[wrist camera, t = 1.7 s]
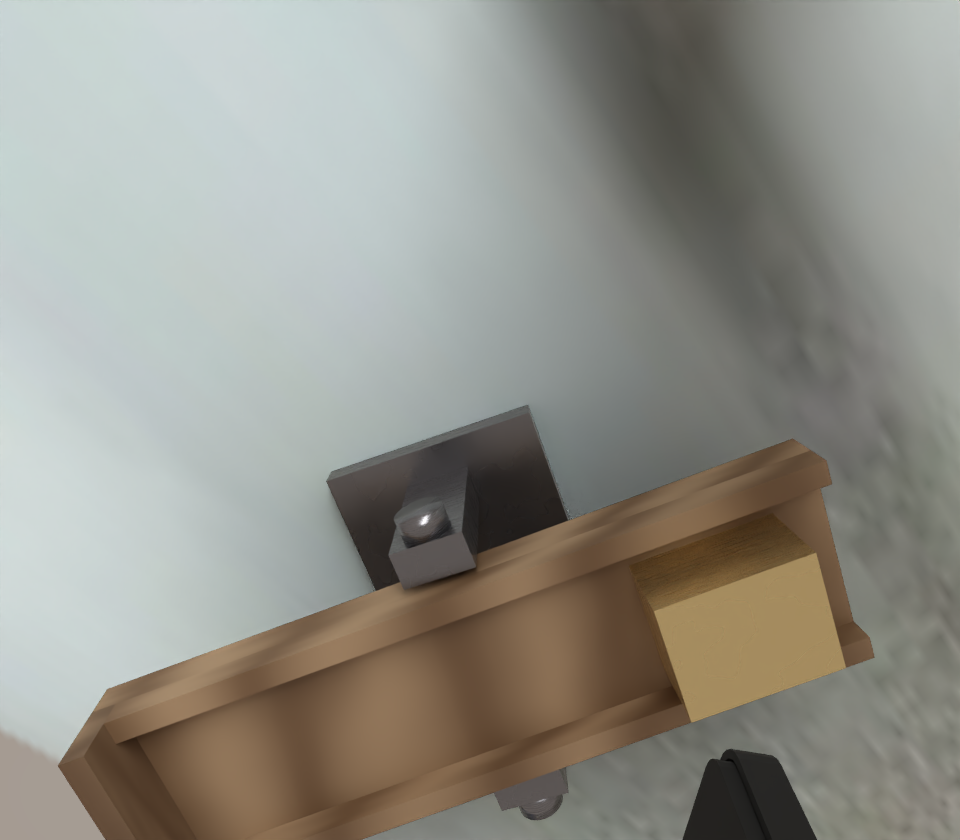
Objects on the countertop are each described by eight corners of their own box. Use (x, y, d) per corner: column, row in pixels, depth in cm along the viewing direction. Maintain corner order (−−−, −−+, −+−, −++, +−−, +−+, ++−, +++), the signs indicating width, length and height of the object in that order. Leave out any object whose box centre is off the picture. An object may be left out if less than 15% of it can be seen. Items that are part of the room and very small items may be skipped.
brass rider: (772, 513, 30) (816, 552, 27) (801, 618, 32) (846, 668, 28) (628, 565, 30) (653, 611, 27) (663, 667, 32) (691, 722, 28)
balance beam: (792, 438, 31) (852, 477, 27) (839, 621, 34) (901, 684, 29) (107, 689, 32) (57, 765, 28) (203, 849, 34) (171, 941, 30)
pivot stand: (528, 404, 36) (536, 467, 28) (627, 679, 40) (657, 797, 33) (331, 471, 37) (289, 549, 29) (449, 731, 42) (438, 856, 34)
